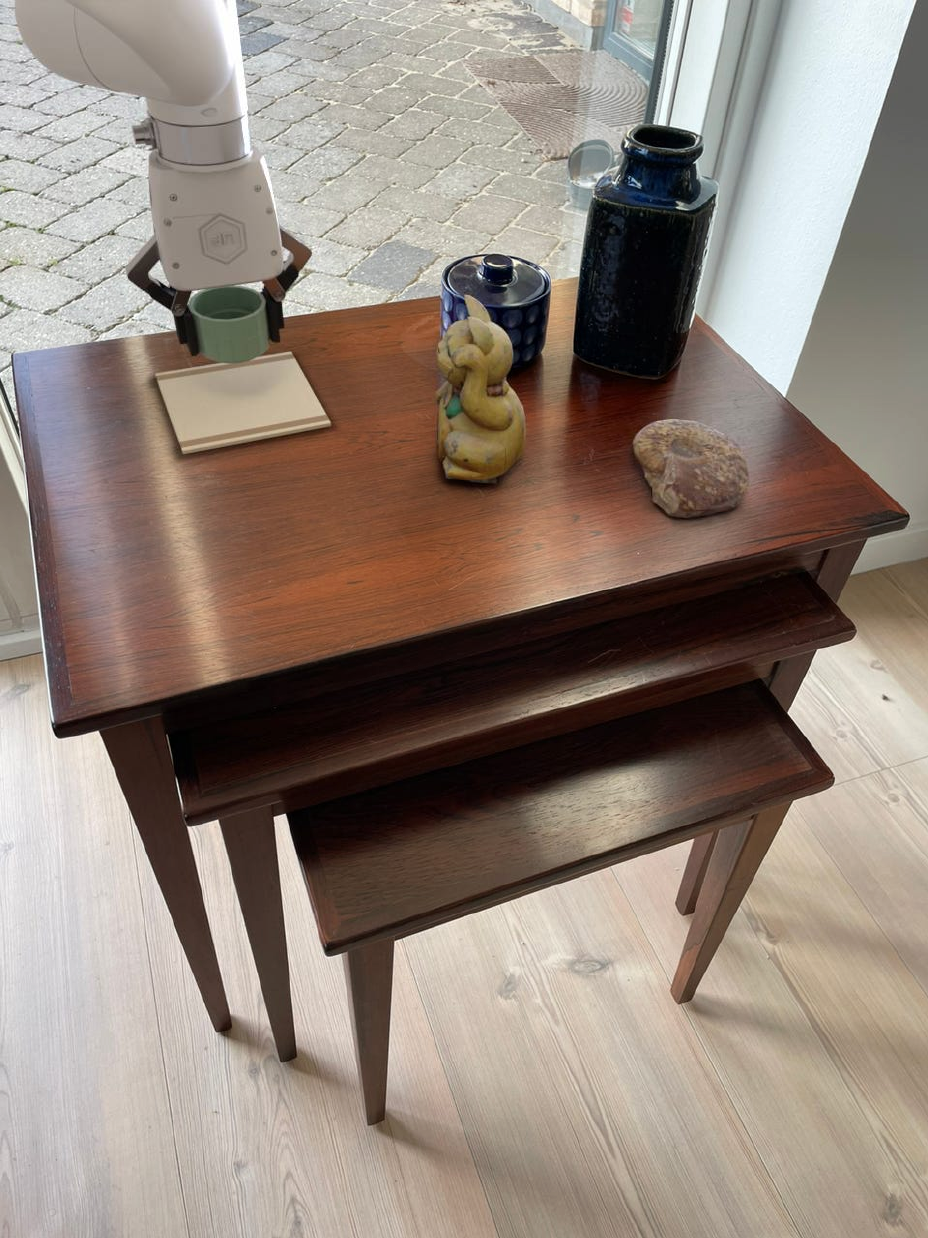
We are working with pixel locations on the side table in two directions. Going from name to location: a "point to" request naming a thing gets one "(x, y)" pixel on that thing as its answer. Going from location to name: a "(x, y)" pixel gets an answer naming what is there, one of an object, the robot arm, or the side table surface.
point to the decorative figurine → (477, 400)
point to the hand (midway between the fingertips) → (232, 340)
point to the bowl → (230, 323)
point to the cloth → (239, 402)
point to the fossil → (691, 467)
